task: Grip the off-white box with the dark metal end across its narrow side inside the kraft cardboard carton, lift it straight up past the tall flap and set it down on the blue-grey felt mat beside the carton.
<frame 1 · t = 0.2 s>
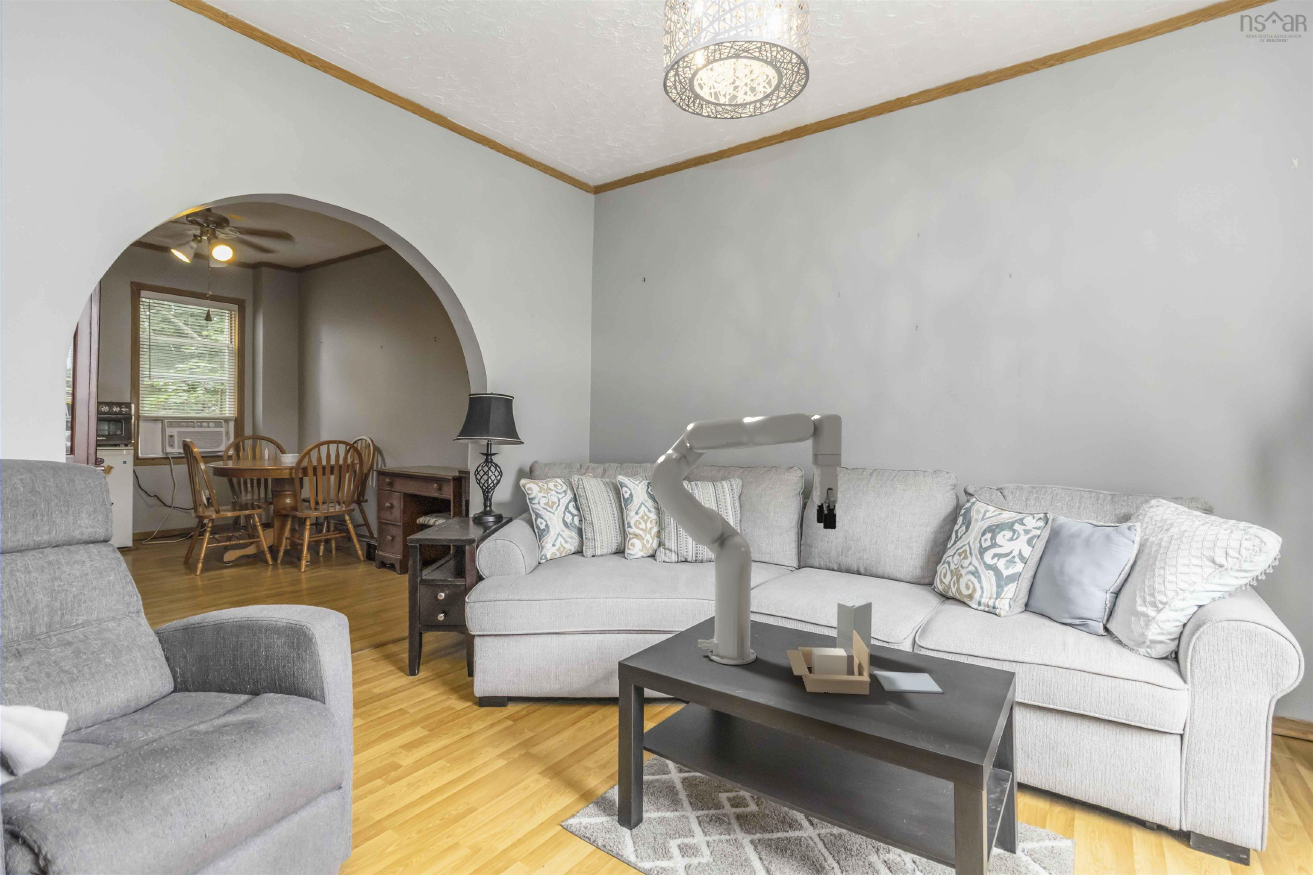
hand: (826, 525, 173), 36 cm above the table, tool pointing down, fingers open, 9 cm apart
felt mat: (907, 682, 160), on the table
skincare box: (853, 656, 179), on the table
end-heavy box: (832, 665, 162), in the carton
carton: (831, 679, 162), on the table
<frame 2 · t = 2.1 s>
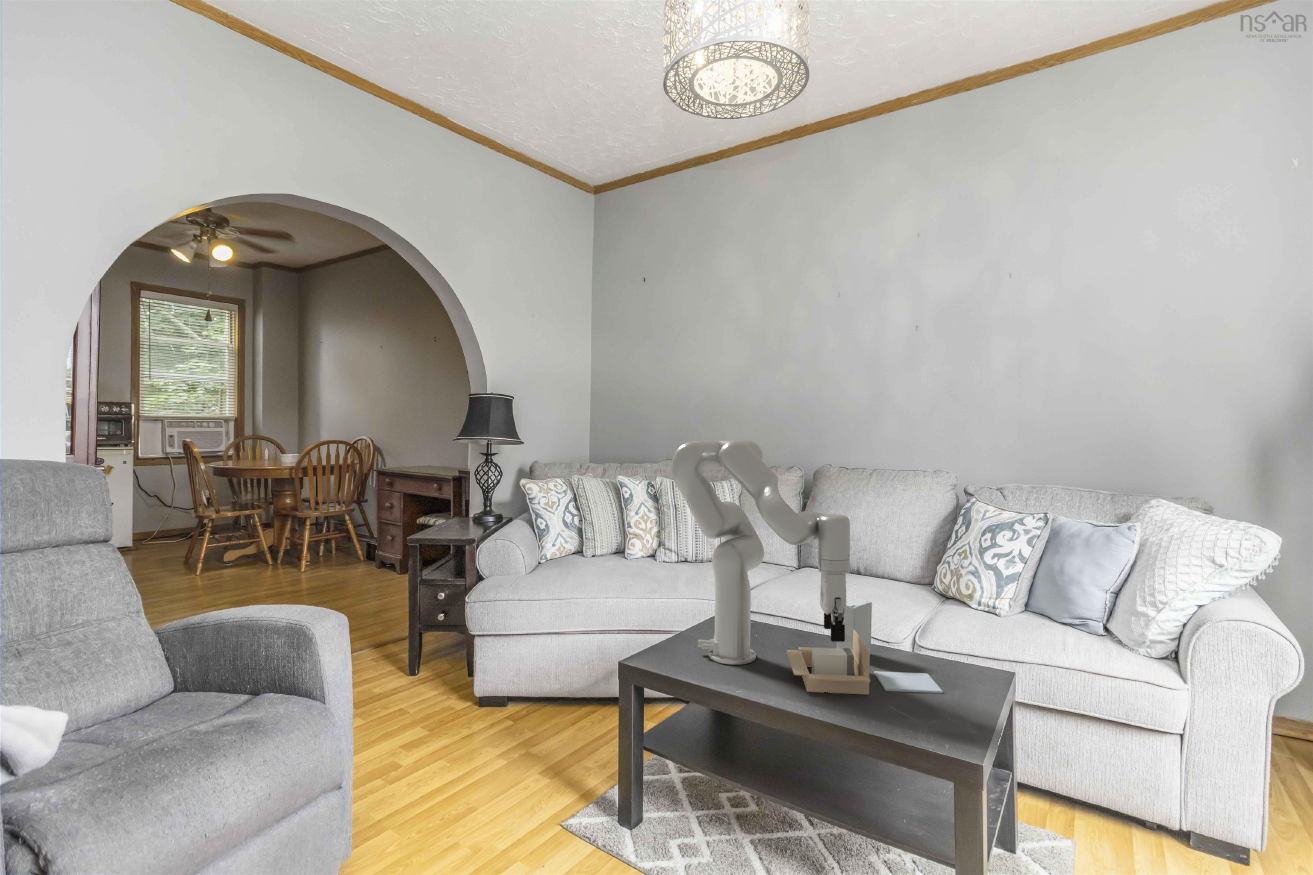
hand: (834, 634, 161), 11 cm above the table, tool pointing down, fingers open, 9 cm apart
nothing on the table moved.
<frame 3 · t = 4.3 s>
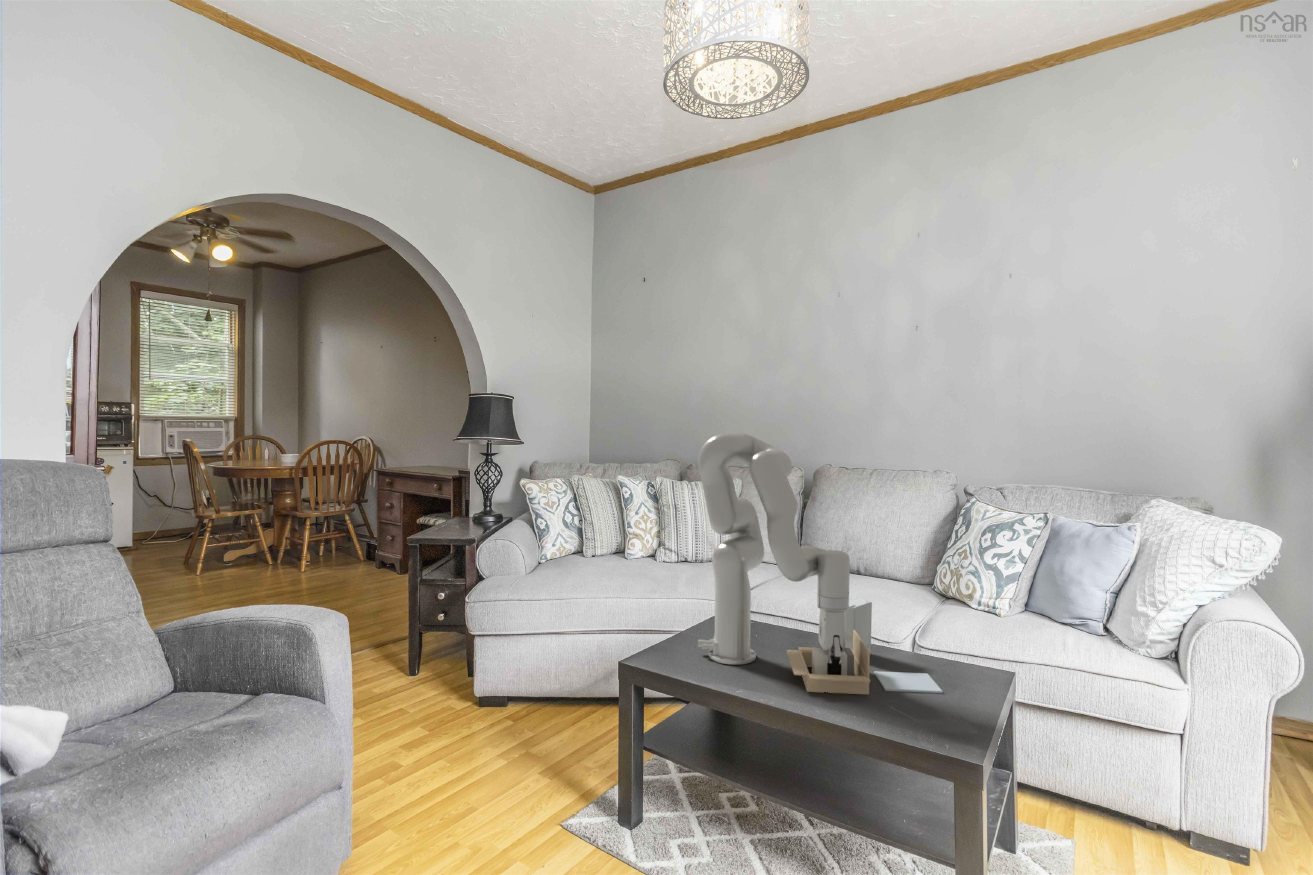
hand: (832, 674, 162), 1 cm above the table, tool pointing down, fingers closed on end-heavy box, 5 cm apart
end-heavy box: (832, 665, 162), in the carton, touching gripper
everything else where it was.
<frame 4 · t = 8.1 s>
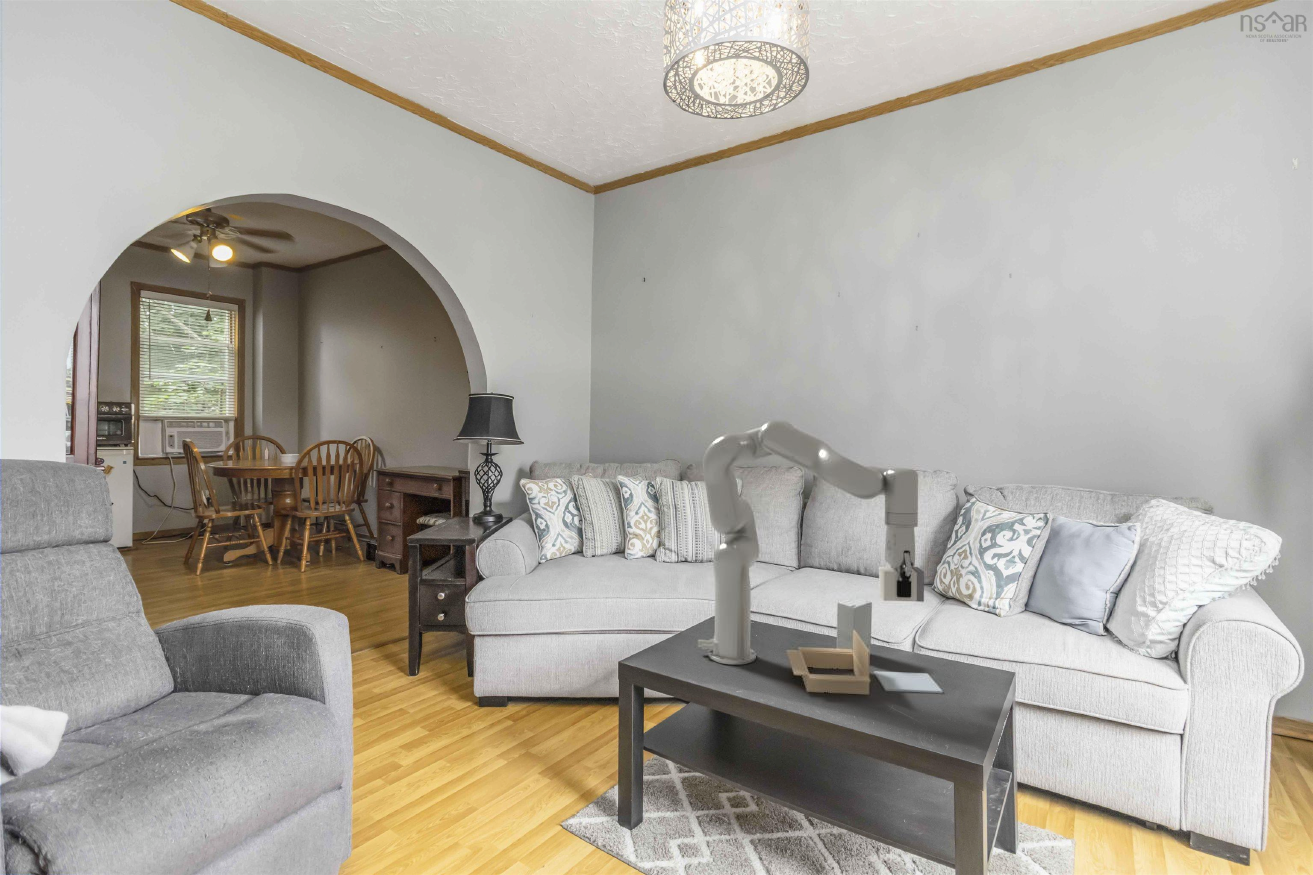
hand: (900, 593, 160), 22 cm above the table, tool pointing down, fingers closed on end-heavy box, 5 cm apart
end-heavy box: (901, 583, 160), point 24 cm above the table, touching gripper
everything else where it was.
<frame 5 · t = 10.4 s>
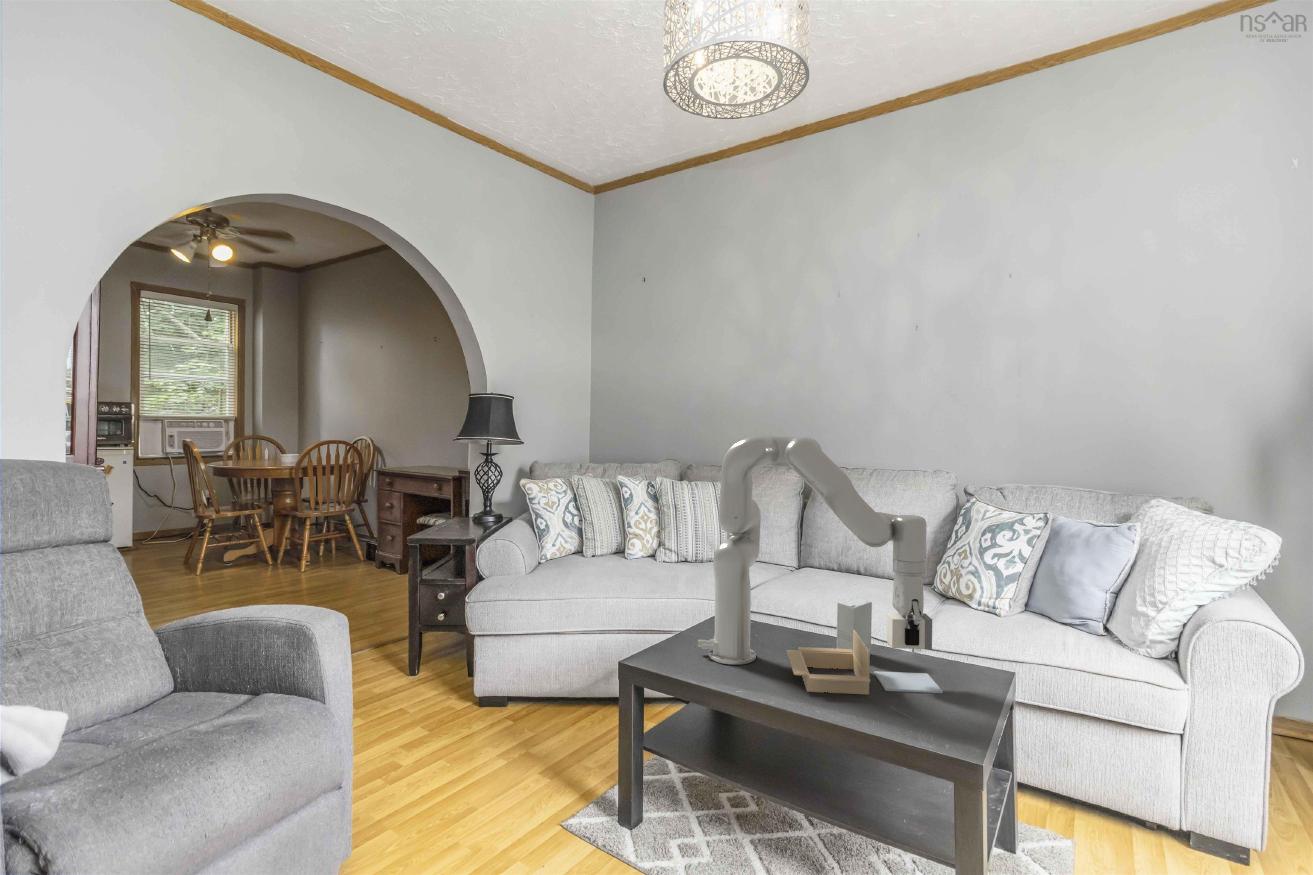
hand: (908, 640, 160), 10 cm above the table, tool pointing down, fingers closed on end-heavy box, 5 cm apart
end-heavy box: (909, 630, 160), point 13 cm above the table, touching gripper
everything else where it was.
when the fingers open (3 cm above the table, at t = 12.2 s): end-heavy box drops 2 cm, resting on felt mat.
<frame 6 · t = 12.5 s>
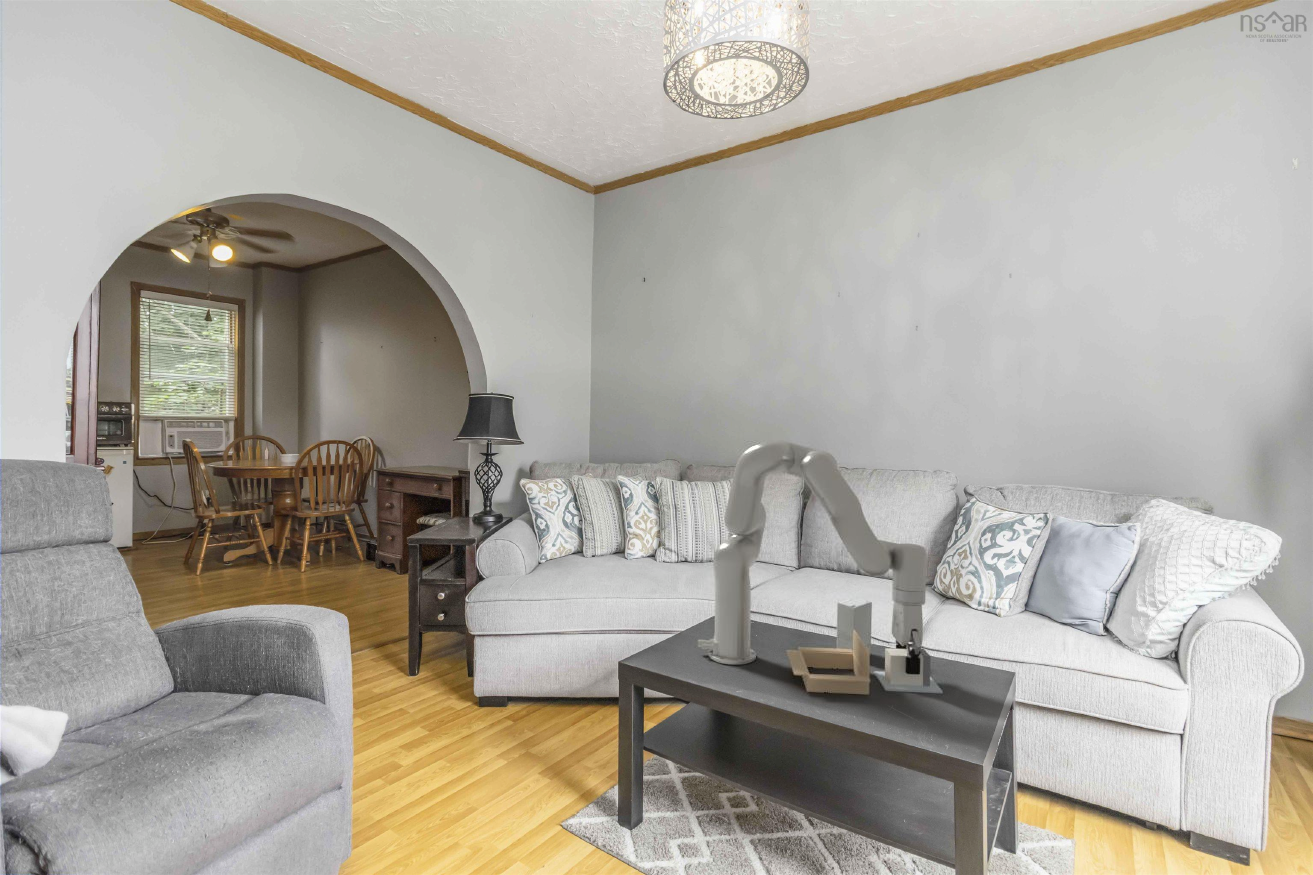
hand: (907, 666, 160), 4 cm above the table, tool pointing down, fingers open, 8 cm apart
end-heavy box: (907, 666, 160), on the felt mat
everything else where it was.
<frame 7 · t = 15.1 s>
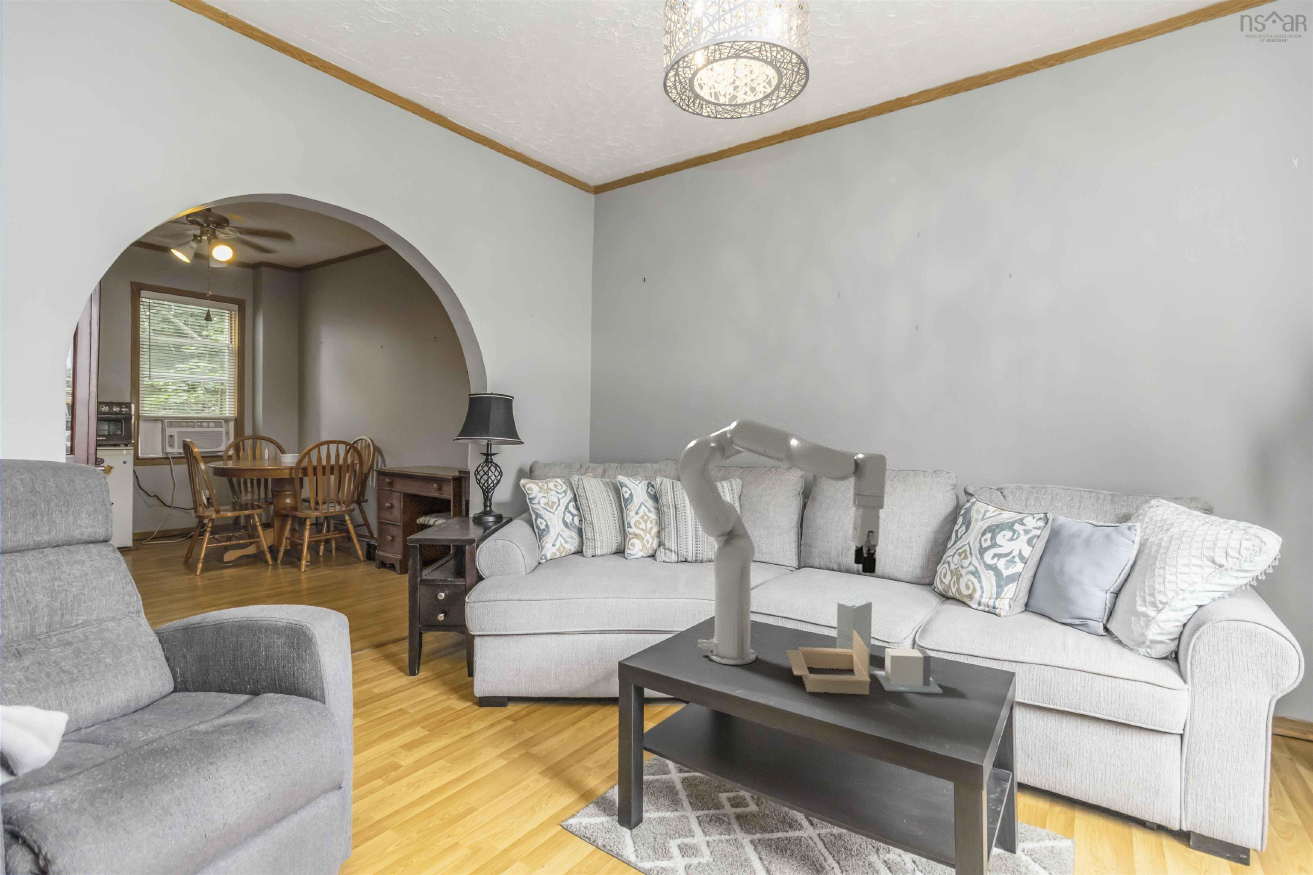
hand: (864, 568, 168), 26 cm above the table, tool pointing down, fingers open, 9 cm apart
nothing on the table moved.
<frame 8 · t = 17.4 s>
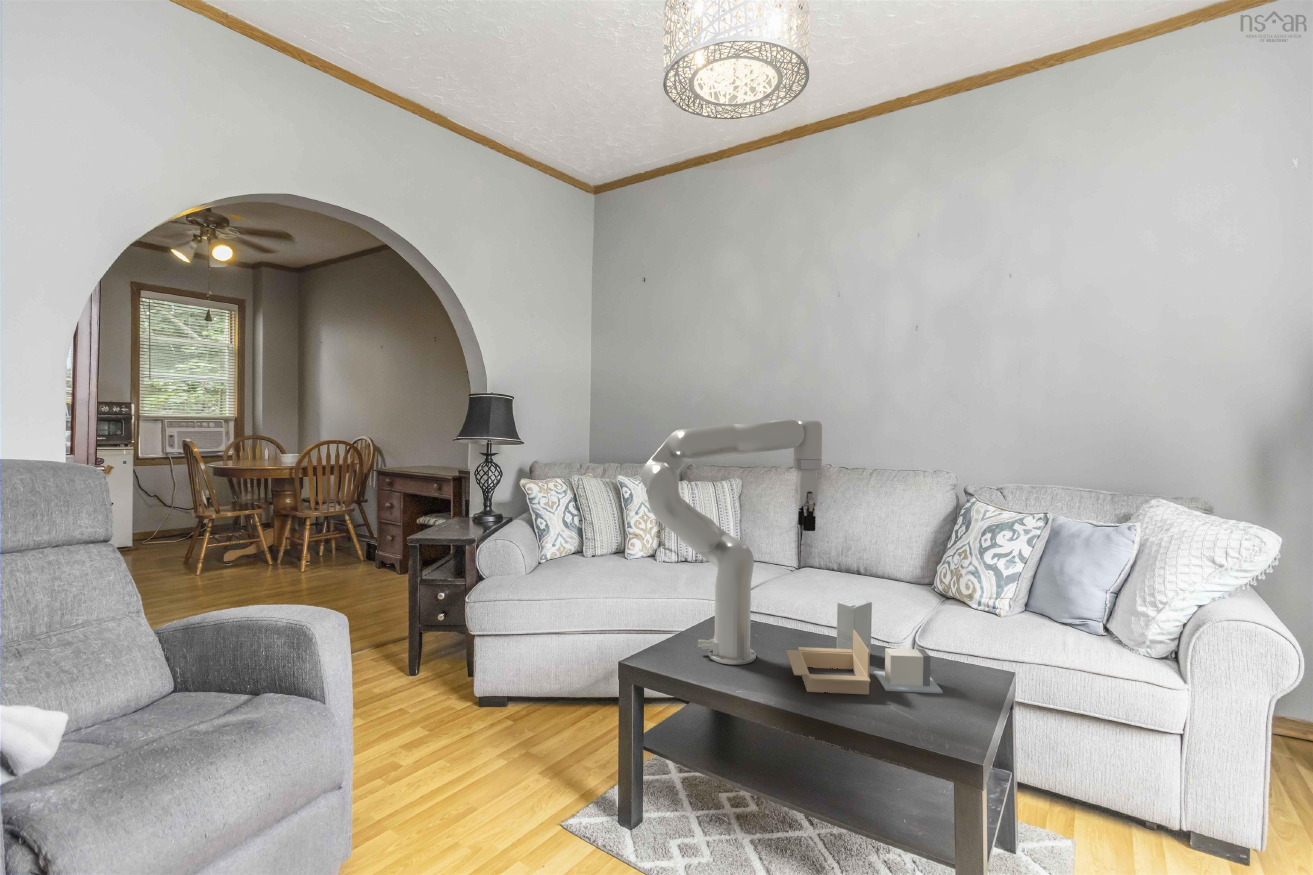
hand: (806, 527, 180), 34 cm above the table, tool pointing down, fingers open, 9 cm apart
nothing on the table moved.
at the end: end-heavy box inside the target area on the felt mat (0.2 cm from its centre), point 4.1 cm above the felt mat's base; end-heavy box tilted 0°; the gripper is holding nothing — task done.
